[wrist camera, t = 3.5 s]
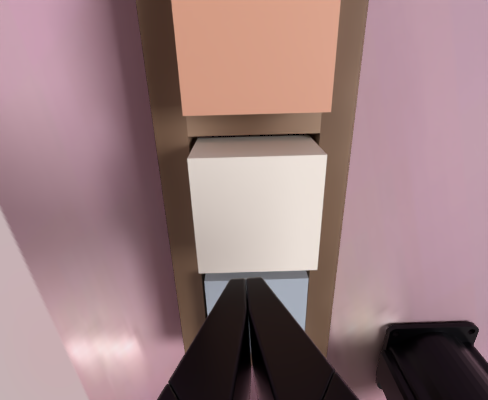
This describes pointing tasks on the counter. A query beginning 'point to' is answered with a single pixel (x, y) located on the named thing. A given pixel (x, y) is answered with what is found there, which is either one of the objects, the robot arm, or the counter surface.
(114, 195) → the counter surface
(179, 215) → the wooden compartment tray
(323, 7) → the button terracotta
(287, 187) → the button cream
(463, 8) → the counter surface
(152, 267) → the counter surface
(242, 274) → the button slate
